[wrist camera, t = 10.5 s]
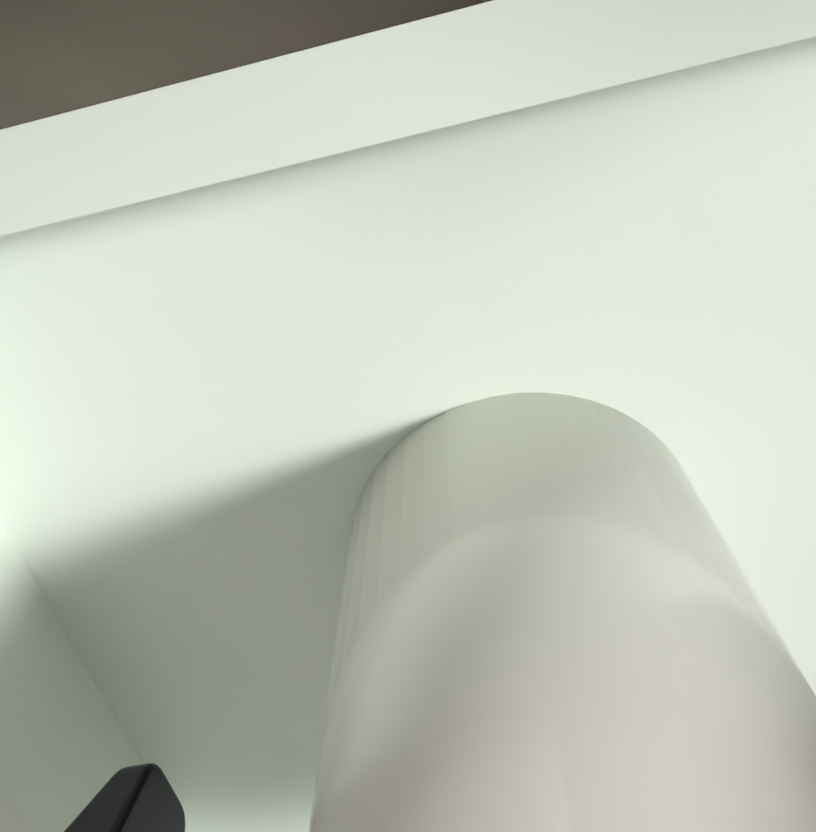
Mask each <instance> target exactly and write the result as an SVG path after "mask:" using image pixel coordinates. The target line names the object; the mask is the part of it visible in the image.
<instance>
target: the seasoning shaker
mask: <svg viewBox="0 0 816 832" xmlns="http://www.w3.org/2000/svg"><path fill="white" fill-rule="evenodd" d="M309 832H816V696H815V694H814V692H813V690H812V689H811V687H810V685H809V684H808V682H807V680H806V678H805V677H804V675H803V673H802V672H801V670H800V668H799V666H798V665H797V663H796V661H795V660H794V658H793V656H792V654H791V653H790V651H789V649H788V648H787V646H786V644H785V642H784V641H783V639H782V637H781V636H780V634H779V632H778V630H777V629H776V627H775V625H774V624H773V622H772V620H771V618H770V617H769V615H768V613H767V612H766V610H765V608H764V606H763V605H762V603H761V601H760V600H759V598H758V596H757V594H756V593H755V591H754V589H753V588H752V586H751V584H750V582H749V581H748V579H747V577H746V576H745V574H744V572H743V570H742V569H741V567H740V565H739V564H738V562H737V560H736V558H735V557H734V555H733V553H732V552H731V550H730V548H729V546H728V545H727V543H726V541H725V540H724V538H723V536H722V534H721V533H720V531H719V529H718V528H717V526H716V524H715V522H714V521H713V519H712V517H711V516H710V514H709V512H708V510H707V509H706V507H705V505H704V504H703V502H702V500H701V498H700V497H699V495H698V493H697V492H696V490H695V488H694V486H693V485H692V483H691V481H690V480H689V478H688V476H687V475H686V473H685V471H684V469H683V468H682V466H681V464H680V463H679V461H678V460H677V459H676V457H675V456H674V455H673V453H672V452H671V451H670V449H669V448H668V447H667V446H666V445H665V444H664V443H663V442H662V441H661V440H660V439H659V438H658V437H657V436H656V435H655V434H654V433H653V432H652V431H650V430H649V429H647V428H646V427H645V426H643V425H642V424H640V423H639V422H638V421H636V420H635V419H633V418H631V417H629V416H627V415H626V414H624V413H622V412H620V411H618V410H616V409H614V408H611V407H609V406H606V405H603V404H600V403H598V402H595V401H592V400H588V399H584V398H579V397H575V396H570V395H564V394H554V393H543V392H537V393H513V394H506V395H499V396H492V397H488V398H484V399H480V400H477V401H473V402H469V403H466V404H463V405H461V406H458V407H456V408H453V409H451V410H448V411H446V412H444V413H442V414H440V415H438V416H436V417H434V418H432V419H431V420H429V421H427V422H425V423H423V424H422V425H421V426H419V427H418V428H416V429H415V430H413V431H412V432H411V433H409V434H408V435H406V436H405V437H404V438H403V439H402V440H401V441H400V442H399V443H397V444H396V445H395V446H394V447H393V448H392V449H391V450H390V451H389V452H388V453H387V454H386V455H385V457H384V458H383V459H382V460H381V462H380V463H379V464H378V465H377V466H376V468H375V469H374V471H373V472H372V474H371V476H370V477H369V479H368V481H367V482H366V484H365V486H364V488H363V490H362V493H361V495H360V498H359V500H358V502H357V505H356V509H355V513H354V518H353V522H352V528H351V535H350V542H349V549H348V556H347V563H346V570H345V577H344V585H343V592H342V599H341V606H340V613H339V620H338V627H337V634H336V641H335V648H334V655H333V662H332V669H331V676H330V683H329V690H328V697H327V705H326V712H325V719H324V726H323V733H322V740H321V747H320V754H319V761H318V768H317V775H316V782H315V789H314V796H313V803H312V810H311V817H310V825H309Z"/></svg>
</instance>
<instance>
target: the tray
mask: <svg viewBox="0 0 816 832" xmlns="http://www.w3.org/2000/svg"><path fill="white" fill-rule="evenodd" d="M537 392H543V393H554V394H564V395H570V396H575V397H579V398H584V399H588V400H592V401H595V402H598V403H600V404H603V405H606V406H609V407H611V408H614V409H616V410H618V411H620V412H622V413H624V414H626V415H627V416H629V417H631V418H633V419H635V420H636V421H638V422H639V423H640V424H642V425H643V426H645V427H646V428H647V429H649V430H650V431H652V432H653V433H654V434H655V435H656V436H657V437H658V438H659V439H660V440H661V441H662V442H663V443H664V444H665V445H666V446H667V447H668V448H669V449H670V451H671V452H672V453H673V455H674V456H675V457H676V459H677V460H678V461H679V463H680V464H681V466H682V468H683V469H684V471H685V473H686V475H687V476H688V478H689V480H690V481H691V483H692V485H693V486H694V488H695V490H696V492H697V493H698V495H699V497H700V498H701V500H702V502H703V504H704V505H705V507H706V509H707V510H708V512H709V514H710V516H711V517H712V519H713V521H714V522H715V524H716V526H717V528H718V529H719V531H720V533H721V534H722V536H723V538H724V540H725V541H726V543H727V545H728V546H729V548H730V550H731V552H732V553H733V555H734V557H735V558H736V560H737V562H738V564H739V565H740V567H741V569H742V570H743V572H744V574H745V576H746V577H747V579H748V581H749V582H750V584H751V586H752V588H753V589H754V591H755V593H756V594H757V596H758V598H759V600H760V601H761V603H762V605H763V606H764V608H765V610H766V612H767V613H768V615H769V617H770V618H771V620H772V622H773V624H774V625H775V627H776V629H777V630H778V632H779V634H780V636H781V637H782V639H783V641H784V642H785V644H786V646H787V648H788V649H789V651H790V653H791V654H792V656H793V658H794V660H795V661H796V663H797V665H798V666H799V668H800V670H801V672H802V673H803V675H804V677H805V678H806V680H807V682H808V684H809V685H810V687H811V689H812V690H813V692H814V694H815V696H816V0H492V1H488V2H484V3H480V4H476V5H473V6H469V7H465V8H461V9H457V10H454V11H450V12H446V13H442V14H438V15H435V16H431V17H427V18H423V19H419V20H415V21H412V22H408V23H404V24H400V25H396V26H393V27H389V28H385V29H381V30H377V31H374V32H370V33H366V34H362V35H358V36H355V37H351V38H347V39H343V40H339V41H336V42H332V43H328V44H324V45H320V46H317V47H313V48H309V49H305V50H301V51H298V52H294V53H290V54H286V55H282V56H279V57H275V58H271V59H267V60H263V61H259V62H256V63H252V64H248V65H244V66H240V67H237V68H233V69H229V70H225V71H221V72H218V73H214V74H210V75H206V76H202V77H199V78H195V79H191V80H187V81H183V82H180V83H176V84H172V85H168V86H164V87H161V88H157V89H153V90H149V91H145V92H142V93H138V94H134V95H130V96H126V97H122V98H119V99H115V100H111V101H107V102H103V103H100V104H96V105H92V106H88V107H84V108H81V109H77V110H73V111H69V112H65V113H62V114H58V115H54V116H50V117H46V118H43V119H39V120H35V121H31V122H27V123H24V124H20V125H16V126H12V127H8V128H5V129H1V130H0V832H64V831H65V830H66V829H67V827H68V826H69V825H70V824H71V823H72V822H73V821H74V819H75V818H76V817H77V816H78V815H79V814H80V813H81V812H82V810H83V809H84V808H85V807H86V806H87V805H88V804H89V802H90V801H91V800H92V799H93V798H94V797H95V796H96V794H97V793H98V792H99V791H100V790H101V789H102V788H103V787H104V785H105V784H106V783H107V782H108V781H109V780H110V779H111V777H112V776H113V775H114V774H115V773H116V772H118V771H119V770H120V769H122V768H124V767H128V766H134V765H141V764H148V763H154V764H156V765H157V766H159V767H160V768H161V769H162V771H163V773H164V774H165V776H166V778H167V780H168V781H169V783H170V785H171V787H172V788H173V790H174V792H175V794H176V796H177V797H178V799H179V801H180V803H181V804H182V807H183V810H184V814H185V832H309V825H310V817H311V810H312V803H313V796H314V789H315V782H316V775H317V768H318V761H319V754H320V747H321V740H322V733H323V726H324V719H325V712H326V705H327V697H328V690H329V683H330V676H331V669H332V662H333V655H334V648H335V641H336V634H337V627H338V620H339V613H340V606H341V599H342V592H343V585H344V577H345V570H346V563H347V556H348V549H349V542H350V535H351V528H352V522H353V518H354V513H355V509H356V505H357V502H358V500H359V498H360V495H361V493H362V490H363V488H364V486H365V484H366V482H367V481H368V479H369V477H370V476H371V474H372V472H373V471H374V469H375V468H376V466H377V465H378V464H379V463H380V462H381V460H382V459H383V458H384V457H385V455H386V454H387V453H388V452H389V451H390V450H391V449H392V448H393V447H394V446H395V445H396V444H397V443H399V442H400V441H401V440H402V439H403V438H404V437H405V436H406V435H408V434H409V433H411V432H412V431H413V430H415V429H416V428H418V427H419V426H421V425H422V424H423V423H425V422H427V421H429V420H431V419H432V418H434V417H436V416H438V415H440V414H442V413H444V412H446V411H448V410H451V409H453V408H456V407H458V406H461V405H463V404H466V403H469V402H473V401H477V400H480V399H484V398H488V397H492V396H499V395H506V394H513V393H537Z"/></svg>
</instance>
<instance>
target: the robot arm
mask: <svg viewBox="0 0 816 832" xmlns="http://www.w3.org/2000/svg"><path fill="white" fill-rule="evenodd" d="M64 832H185V814H184V810H183V807H182V804H181V803H180V801H179V799H178V797H177V796H176V794H175V792H174V790H173V788H172V787H171V785H170V783H169V781H168V780H167V778H166V776H165V774H164V773H163V771H162V769H161V768H160V767H159V766H157V765H156V764H154V763H148V764H141V765H134V766H128V767H124V768H122V769H120V770H119V771H118V772H116V773H115V774H114V775H113V776H112V777H111V779H110V780H109V781H108V782H107V783H106V784H105V785H104V787H103V788H102V789H101V790H100V791H99V792H98V793H97V794H96V796H95V797H94V798H93V799H92V800H91V801H90V802H89V804H88V805H87V806H86V807H85V808H84V809H83V810H82V812H81V813H80V814H79V815H78V816H77V817H76V818H75V819H74V821H73V822H72V823H71V824H70V825H69V826H68V827H67V829H66V830H65V831H64Z"/></svg>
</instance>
